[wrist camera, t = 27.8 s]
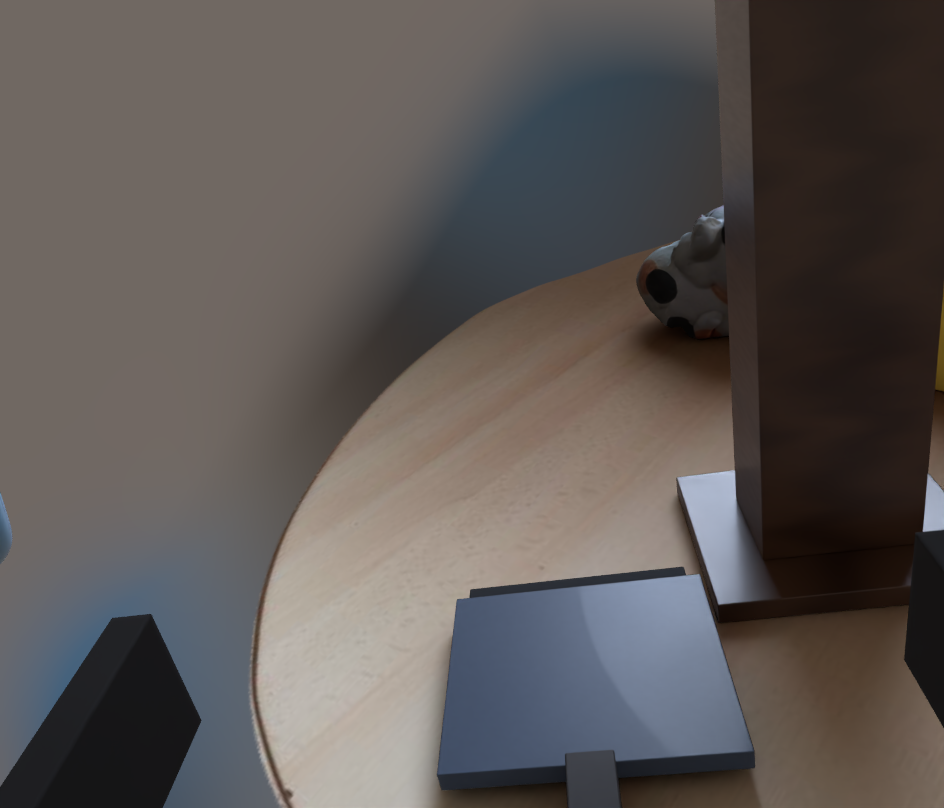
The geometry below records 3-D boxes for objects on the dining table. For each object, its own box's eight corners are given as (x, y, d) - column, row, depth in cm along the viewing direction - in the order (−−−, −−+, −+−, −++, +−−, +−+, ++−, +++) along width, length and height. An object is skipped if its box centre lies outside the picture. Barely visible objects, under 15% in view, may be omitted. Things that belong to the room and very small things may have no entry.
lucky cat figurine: (753, 278, 81) (819, 158, 71) (800, 360, 73) (882, 238, 63) (617, 270, 78) (666, 143, 68) (651, 356, 70) (713, 226, 60)
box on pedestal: (718, 623, 40) (659, -377, 23) (677, 492, 51) (616, -256, 34) (1014, 594, 38) (1186, -516, 21) (906, 465, 49) (963, -342, 32)
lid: (411, 1075, 25) (398, 1046, 24) (460, 613, 43) (453, 587, 42) (845, 1066, 23) (847, 1034, 22) (700, 588, 41) (699, 561, 41)
